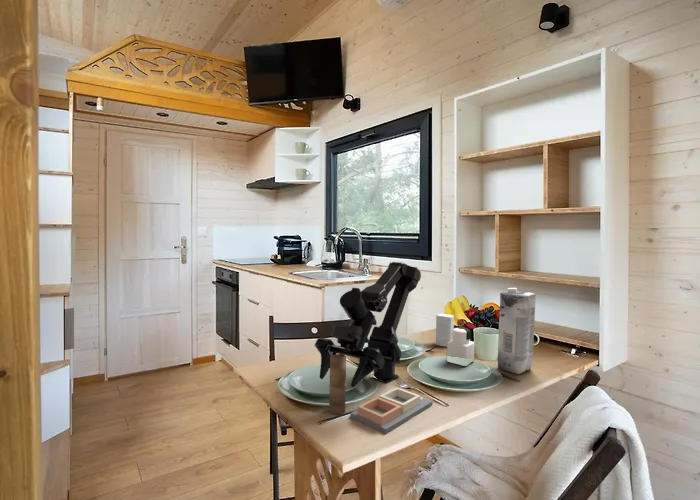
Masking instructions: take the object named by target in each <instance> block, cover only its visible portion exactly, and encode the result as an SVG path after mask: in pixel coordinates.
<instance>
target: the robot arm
mask: <svg viewBox="0 0 700 500" xmlns="http://www.w3.org/2000/svg"><path fill="white" fill-rule="evenodd" d="M421 277H422V272H421V271H420V269H419V268H418V267H416V266H411V265H408V264H407V263H404V262H399V261H397V262H396V261H392V262H390V263H389V264H388V266H387V268H386V269H385V271H384V272H383V273H382V274H381V275H380V277H378V279H377V280H376V282H375V283H374V284H372V285H369V286H366V287H365V288H364V289H362V290H361V289H360V288H359V287H351V290H348V291H347V292H345V293H343V294H342V295H341V296H340V299H339V304H340V306H341V308H342V310H343V311H344V312H345V314H346V315H347V317H348V318H349V319H350V320H351V322H350V323H349V325H346V326H344V325H337V324H334V325H333V329H332V334H331V338H333V339H334V338H335V339H337V340H336V343H338V344H340V345H336V344H335V343H334V342H333V340H332V339H330V338H325V337H319V338H317V339H316V340H315V343H314V347H315V348H316V349H317V352H318V353H319V354H320V367H319V369H320V370H319V378H320V380H323V379H324V378H325V376H326V375H327V373H328V371H330V356H331V355H334V354H342V355H345V356H346V357H347V356H348V357H352V358H357V359H358V360H359V361H358V365H357V368H356V370H355V372H354V375H353V377H352V379H351V381H350V387H351V389H352V388H353V389H354V387H356V386H357V385H358V384H359V383H360V382H361V381H363V379H364V378H366V377H367V376H368V375H369V374H371V373H372V372H373V374H372V375H374V376H375V377H376V378H377V379H378V381H380V382H383V383H386V384H387V383H389V382H391V381H395V380H396V379H398V378H399V377H400V376H399V375H398V374H395V370H396V362H400V361H401V358H402V350H401V349H400V347H399V345H398V342H399V340H398V335H397V329H398V327H399V324H400V321H401V318H402V315H403V312H404V309H405V305H406V303H407V300H408V296H409V294H410V293H411V292H412V291H413V290H415V289H416V288H417V286H418V283H419V282H420V281H421V279H422V278H421ZM392 289H393V292H392V294H391V298H390V300H389V303H388V295H389V294H390V292H391V291H392ZM387 304H388V306H387ZM386 306H387V308H386ZM385 308H386V312H385V313H384V316H383V320H382V322H381V324H380V325H379V326H377V320H376V315H374V314H373V312H375V313H382V312H383V310H384V309H385ZM373 326H374V327H373ZM371 329H372V331H371ZM370 332H371V334H370ZM369 334H370V335H369ZM368 336H369V337H368ZM365 344H367V346H365ZM364 346H365V347H364ZM377 379H376V380H377Z"/></svg>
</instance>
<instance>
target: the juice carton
mask: <svg viewBox="0 0 700 500" xmlns="http://www.w3.org/2000/svg"><path fill="white" fill-rule="evenodd" d="M536 295H537V294H536V293H534V292H529V291H522V290H521V291H520V290H518V288H517V287H508V288H507V291H505V292H504V291H503V292H500V293H499V297H500V298H499V315H498V316H499V317H498V318H499V320H498V321H499V322H498V341H497V368H498V369H499V368H500V370H502V369H503V371H505V370H507V371H506V372H509V371H510V372H509V373H511V372H513V373H512V374H514V373H516V374H515V375H520V374H522V373H524V372H527V371H529V369H530V370H531V369H532V367H533V366H532V364H533V361H534V360H533V359H534V357H533V356H534V341H535V340H534V339H535V338H534V337H535V323H536V322H535V317H536V297H537V296H536ZM526 370H527V371H526Z"/></svg>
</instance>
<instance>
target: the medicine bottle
mask: <svg viewBox="0 0 700 500" xmlns="http://www.w3.org/2000/svg"><path fill="white" fill-rule="evenodd" d="M447 356H451V357H459V358H465V359H473V360H474V361H475V341H472V340H471V330H470V328H468V327H464V326H455V327H454V328H453V329H452V340H451V341H449V342H448V343H447V347H446V357H447Z"/></svg>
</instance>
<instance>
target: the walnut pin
mask: <svg viewBox="0 0 700 500" xmlns="http://www.w3.org/2000/svg"><path fill="white" fill-rule="evenodd" d="M346 373H347V355H342V354H338V353H337V354H334V355H331V356H330V368H329V399H328V400H329V403H328V404H329V405H328V407H329V409H328V410H329V411H328V412H329V414H331V415H333V416H340V415H343V414H345V413H346V384H347V383H346V380H347V379H346V377H347V376H346V375H347V374H346Z"/></svg>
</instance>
